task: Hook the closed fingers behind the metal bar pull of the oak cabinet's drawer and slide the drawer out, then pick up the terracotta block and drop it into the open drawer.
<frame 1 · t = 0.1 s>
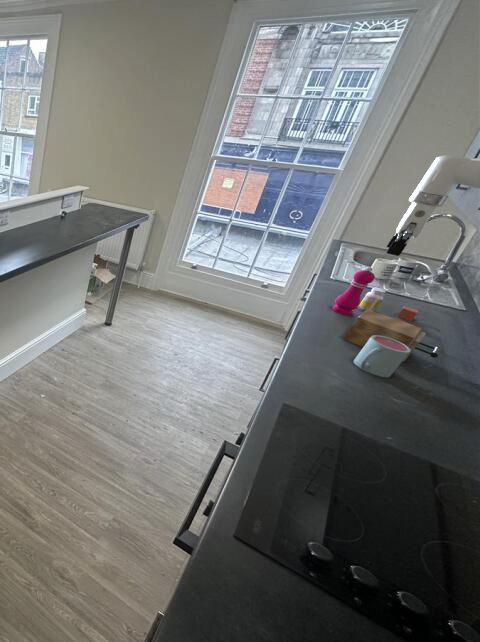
hand: (392, 251, 132), 32 cm above the worktop, tool pointing down, fingers open, 9 cm apart
drawer: (399, 341, 136), point 5 cm above the worktop, slide at 0.5 cm
supplement bottle: (364, 311, 167), on the worktop
cabinet: (372, 345, 141), on the worktop
block: (404, 318, 164), on the worktop
mug: (366, 370, 127), on the worktop
pepper mill: (340, 312, 163), on the worktop
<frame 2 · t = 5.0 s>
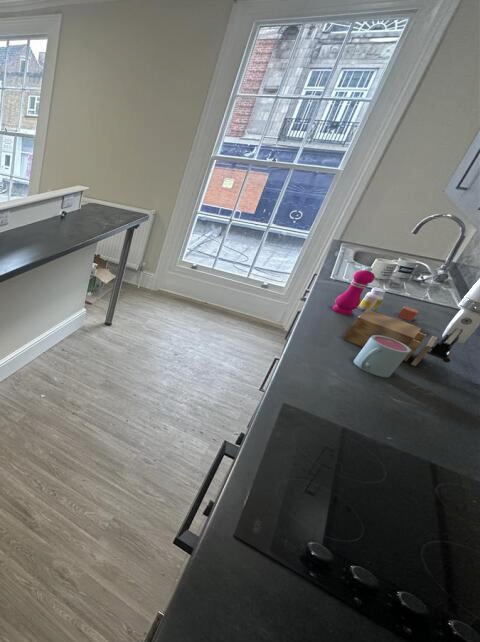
hand: (435, 355, 130), 5 cm above the worktop, tool pointing down, fingers closed
drawer: (410, 345, 134), point 5 cm above the worktop, slide at 3.4 cm, touching gripper
everything else where it was.
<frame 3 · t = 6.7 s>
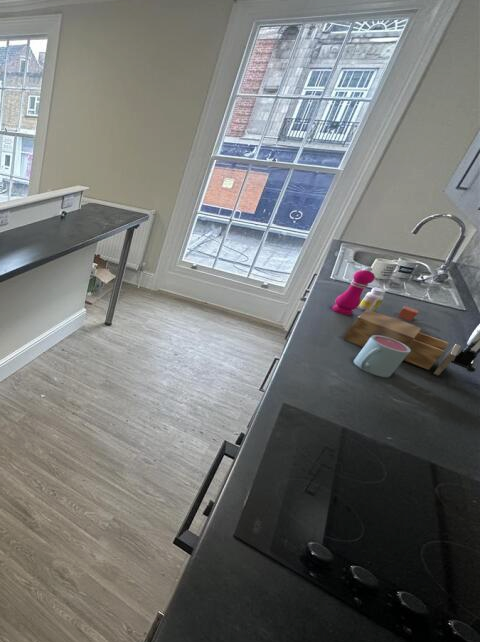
hand: (460, 363, 126), 5 cm above the worktop, tool pointing down, fingers closed
drawer: (432, 354, 130), point 5 cm above the worktop, slide at 8.8 cm
everything else where it was.
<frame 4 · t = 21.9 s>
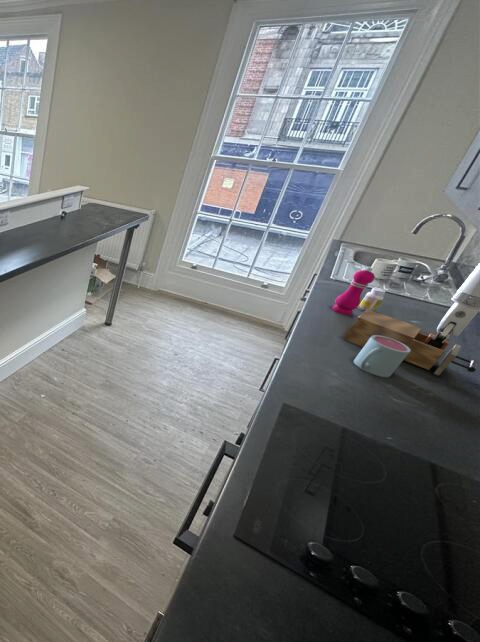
hand: (431, 348, 130), 6 cm above the worktop, tool pointing down, fingers closed on block, 4 cm apart
block: (430, 349, 130), point 6 cm above the worktop, touching gripper
everything else where it was.
when the fingers open (8 cm above the worktop, at t = 25.5 s): block stays where it is, resting on drawer.
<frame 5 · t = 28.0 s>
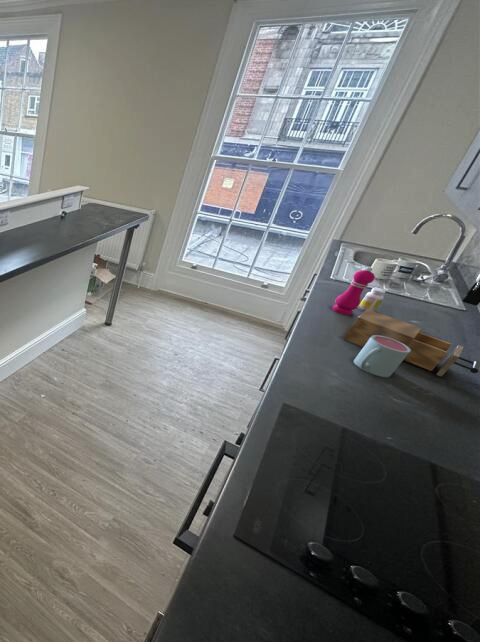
hand: (471, 299, 121), 24 cm above the worktop, tool pointing down, fingers open, 9 cm apart
drawer: (435, 355, 130), point 5 cm above the worktop, slide at 9.5 cm, touching block
block: (424, 360, 132), point 2 cm above the worktop, touching drawer
everything else where it was.
at the end: drawer slide at 9.5 cm; block inside the target area in the drawer (1.1 cm from its centre), point 2.0 cm above the cabinet's base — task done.
